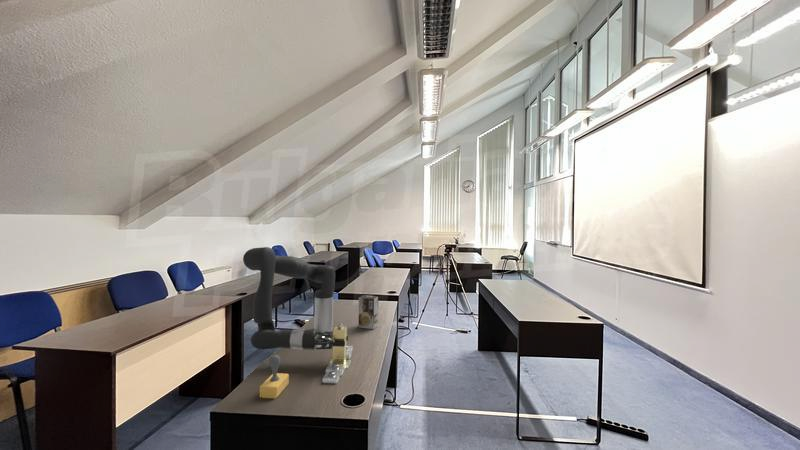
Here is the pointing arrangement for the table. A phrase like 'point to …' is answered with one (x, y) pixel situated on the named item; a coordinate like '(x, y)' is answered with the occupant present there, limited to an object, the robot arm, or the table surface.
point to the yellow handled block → (274, 380)
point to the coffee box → (368, 311)
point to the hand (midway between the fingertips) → (346, 340)
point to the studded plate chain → (337, 368)
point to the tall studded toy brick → (338, 352)
